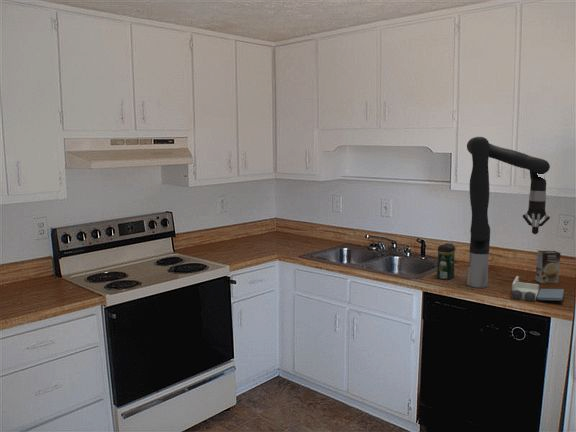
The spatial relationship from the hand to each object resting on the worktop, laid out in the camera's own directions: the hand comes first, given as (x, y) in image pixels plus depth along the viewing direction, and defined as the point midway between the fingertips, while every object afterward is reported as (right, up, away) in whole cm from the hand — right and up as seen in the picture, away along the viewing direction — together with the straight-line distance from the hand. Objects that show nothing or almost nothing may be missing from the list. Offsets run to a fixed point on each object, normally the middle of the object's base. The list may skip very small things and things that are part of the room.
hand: (535, 234), depth 259 cm
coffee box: (+12, -26, +12) cm, 31 cm away
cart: (-10, -29, -11) cm, 32 cm away
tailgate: (-5, -28, -14) cm, 32 cm away
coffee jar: (-39, -25, +21) cm, 50 cm away
